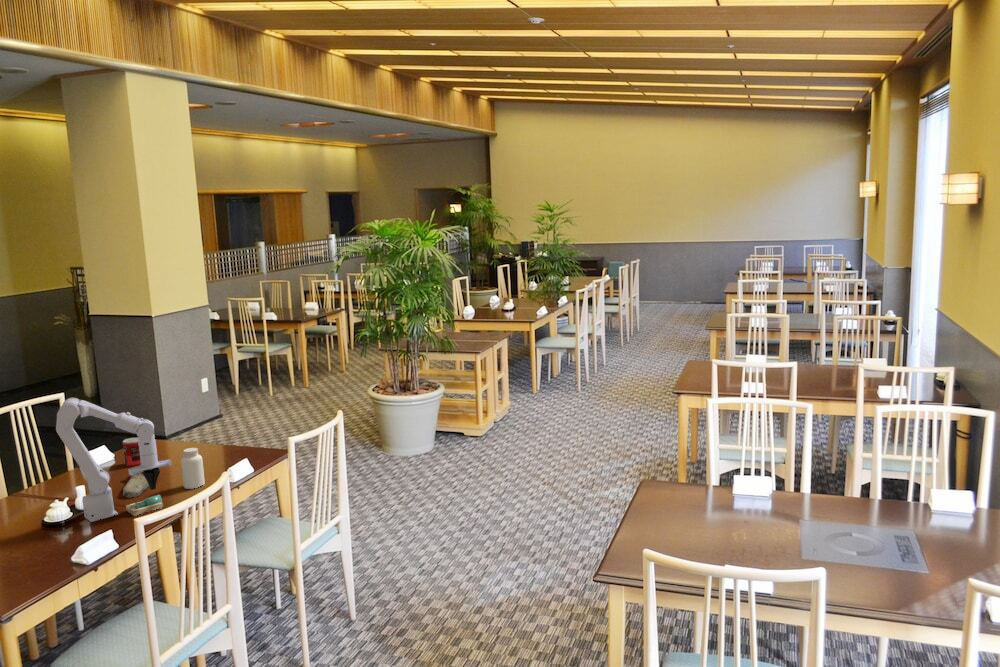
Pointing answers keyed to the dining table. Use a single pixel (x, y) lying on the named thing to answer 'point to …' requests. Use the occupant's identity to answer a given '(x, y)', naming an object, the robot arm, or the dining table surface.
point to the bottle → (149, 501)
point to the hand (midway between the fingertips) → (152, 488)
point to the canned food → (131, 451)
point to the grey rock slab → (135, 485)
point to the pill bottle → (192, 469)
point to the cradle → (136, 512)
